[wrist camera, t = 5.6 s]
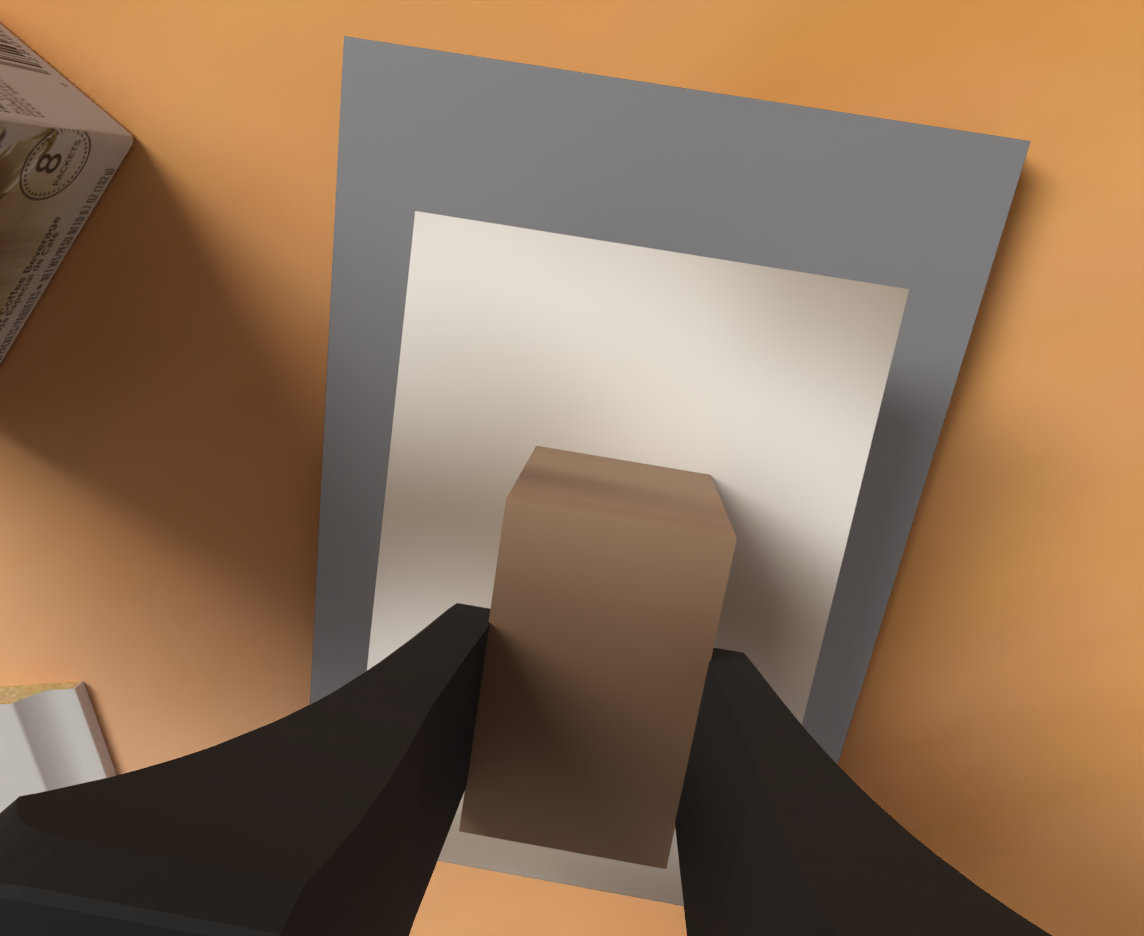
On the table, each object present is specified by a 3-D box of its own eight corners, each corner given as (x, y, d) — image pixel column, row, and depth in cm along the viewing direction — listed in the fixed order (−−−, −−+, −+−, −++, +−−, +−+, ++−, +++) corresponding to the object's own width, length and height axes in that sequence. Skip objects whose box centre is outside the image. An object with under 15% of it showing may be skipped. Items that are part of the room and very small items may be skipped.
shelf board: (744, 874, 17) (788, 1095, 12) (367, 806, 17) (272, 996, 13) (886, 288, 14) (1009, 291, 10) (432, 216, 14) (341, 186, 10)
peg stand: (1009, 144, 17) (1113, 129, 13) (804, 822, 23) (836, 945, 19) (360, 44, 18) (282, 3, 14) (320, 734, 23) (258, 838, 20)
